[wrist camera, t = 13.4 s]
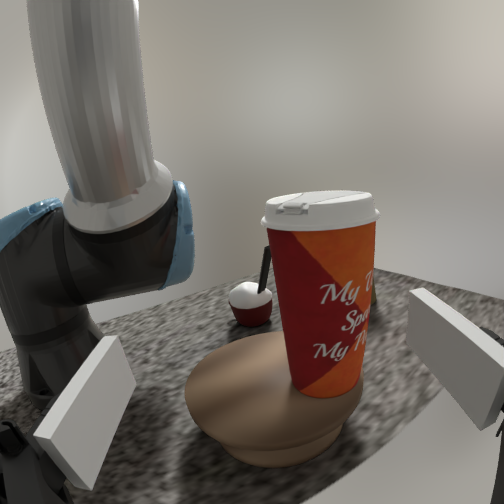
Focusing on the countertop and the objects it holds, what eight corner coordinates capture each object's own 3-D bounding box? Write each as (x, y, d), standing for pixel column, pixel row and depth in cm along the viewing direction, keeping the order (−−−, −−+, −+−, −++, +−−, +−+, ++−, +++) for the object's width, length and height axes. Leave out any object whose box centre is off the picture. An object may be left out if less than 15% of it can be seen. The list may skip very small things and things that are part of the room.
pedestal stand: (170, 427, 25) (152, 386, 24) (270, 358, 36) (264, 319, 34) (293, 512, 15) (288, 477, 14) (385, 394, 25) (390, 350, 24)
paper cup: (346, 421, 17) (351, 207, 14) (258, 387, 22) (232, 206, 19) (386, 359, 23) (393, 189, 19) (310, 340, 28) (300, 189, 24)
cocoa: (226, 320, 49) (208, 249, 46) (259, 307, 51) (244, 238, 49) (254, 341, 40) (234, 257, 38) (291, 324, 43) (277, 243, 40)
